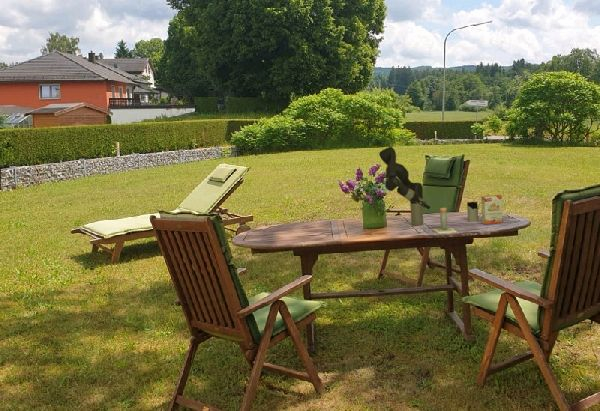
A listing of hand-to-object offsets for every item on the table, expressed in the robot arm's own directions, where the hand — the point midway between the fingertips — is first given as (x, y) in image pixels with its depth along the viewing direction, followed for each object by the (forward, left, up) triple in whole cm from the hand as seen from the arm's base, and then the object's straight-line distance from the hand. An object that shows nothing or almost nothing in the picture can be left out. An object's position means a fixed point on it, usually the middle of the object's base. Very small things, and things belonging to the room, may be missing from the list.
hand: (427, 205), depth 429 cm
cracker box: (-14, +51, -19) cm, 56 cm away
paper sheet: (+6, +10, -18) cm, 22 cm away
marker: (+6, +10, -17) cm, 21 cm away
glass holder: (-31, +44, -19) cm, 57 cm away
